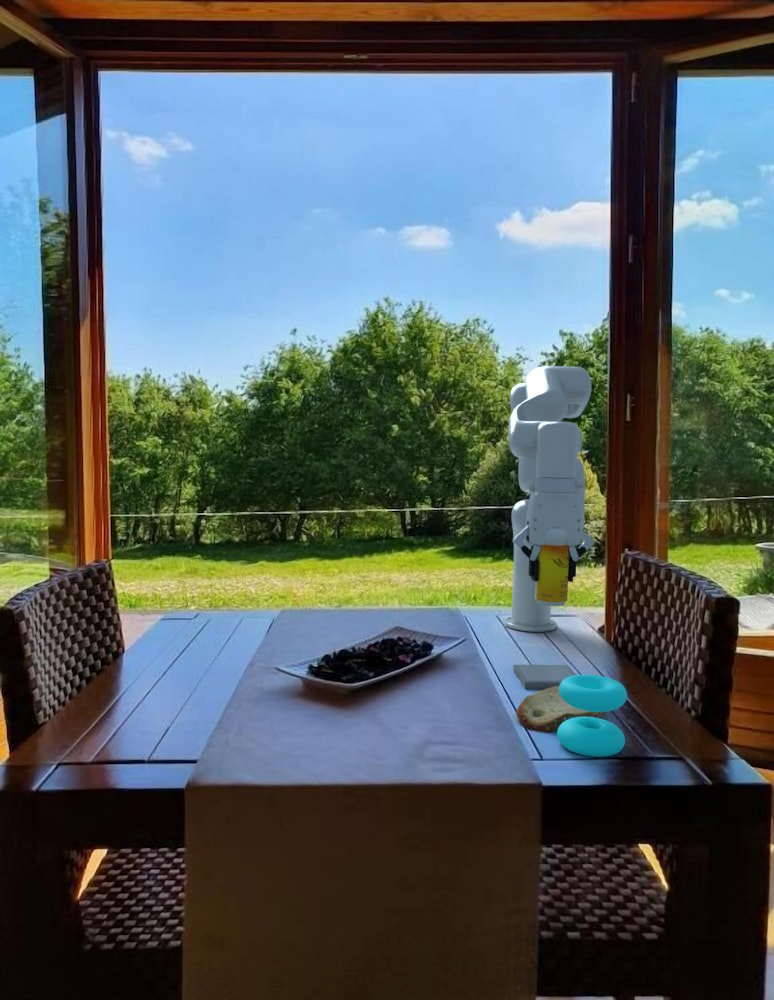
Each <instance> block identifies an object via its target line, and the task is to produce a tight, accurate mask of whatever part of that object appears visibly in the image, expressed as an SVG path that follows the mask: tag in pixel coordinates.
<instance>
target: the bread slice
mask: <svg viewBox="0 0 774 1000" xmlns="http://www.w3.org/2000/svg"><path fill="white" fill-rule="evenodd" d="M604 713H605V714H606V712H591V711H585V710H581V709H578V708H575V707H573V706H571V705H569V704H568V703H566V702H565V701H564V700H563V699H562V697H561V696H560V693H559V686H554V687H550V688H547V689H542V690H539V691H536V692H534V693H531V694H529V695H527V696H525V697H524V698H523V700H521V702H520V704H519V705H518V707H517V708H516V712H515V714H516V717H517V719H518V721H519V722H520V724H521V725H522V726H523V727H524V728H525V729H527V730H530V731H535V732H540V733H547V734H548V733H549V734H550V733H555V732H556V733H557V731H558V728H559V726H560V725H561V724H562V723H563V722H564V721H566V720H568V719H571V718H575V717H595V718H600V719H602V716H603V715H604ZM604 716H605V715H604ZM604 716H603V717H604Z"/></svg>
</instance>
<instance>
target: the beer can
mask: <svg viewBox="0 0 774 1000" xmlns="http://www.w3.org/2000/svg"><path fill="white" fill-rule="evenodd" d="M537 561H539V573H538V581H536V586H535V599H536V600H537V601H538V603H539V604H541V605H546V606H551V607H560V606H564V605H565V603H567V601H568V595H569V594H568V593H569V592H568V591H569V590H568V589H569V581H568V571H569V546H568V533H567V532H566V531H565V530H564V528H563V527H561V528H558V527H551V529H550V530H548V531H547V533H546V535H545V541H544V545H543V546H541V548H540V551H539V553H538V556H537Z"/></svg>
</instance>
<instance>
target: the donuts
mask: <svg viewBox="0 0 774 1000" xmlns="http://www.w3.org/2000/svg"><path fill="white" fill-rule="evenodd" d="M559 693H560V696H561V697H562V699H563V700H564V701H565V702H566V703H568V704H569V705H571V706H573V707H575V708H578V709H581V710H585V711H591V712H605V713H606V712H612V711H615V710H617V709H620V708H621V707H622V706H623V705H624V704H625V703H626V702H627V699H628V692H627V689H626V687H625V686H624V685H623V684H622V683H621V682H620V681H618V680H616V679H613V678H610V677H607V676H603V675H602V676H601V675H597V674H596V675H595V674H576V675H574V676H570V677H567V678H565V679H564V680H563V681H562V682H561V683H560V686H559ZM556 736H557V740H558V742H559V743H560V745H561V746H562V747H564V748H565V749H567V750H568V751H570V752H571V753H572V752H573V753H575V754H578V755H581V756H587V757H593V758H594V757H597V758H598V757H599V758H601V757H603V758H604V757H610V756H613V755H616V754H618V753H620V752H621V751H622V750H623V749H624V747H625V744H626V738H625V735H624V733H623V731H622V730H621V729H620V728H619V726H617V725H616V724H614V723H613V722H611V721H609V720H606V719H603V718H595V717H575V718H571V719H568V720H566V721H564V722H563V723H562V724H561V725H560V726H559V728H558V731H557V732H556Z"/></svg>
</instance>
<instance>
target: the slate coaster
mask: <svg viewBox="0 0 774 1000" xmlns="http://www.w3.org/2000/svg"><path fill="white" fill-rule="evenodd" d="M512 667H513V669H512V671H513V672H514V674H515V676H516V678H517V679H518V680H519V682H520V683H521V685H522V687H523V688H524V689H532V690H533V689H534V690H535V689H536V690H537V689H539V690H540V689H542V690H544V689H547V688H550V687H554V686H560V683H561V682H562V681H563V680H564V679H565V678H567V677H570V676H574V675H577V674H576V673H575V672H574V670H573V669H571V667H570V666H569V665H568V664H567V665H566V664H513V666H512Z"/></svg>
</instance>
